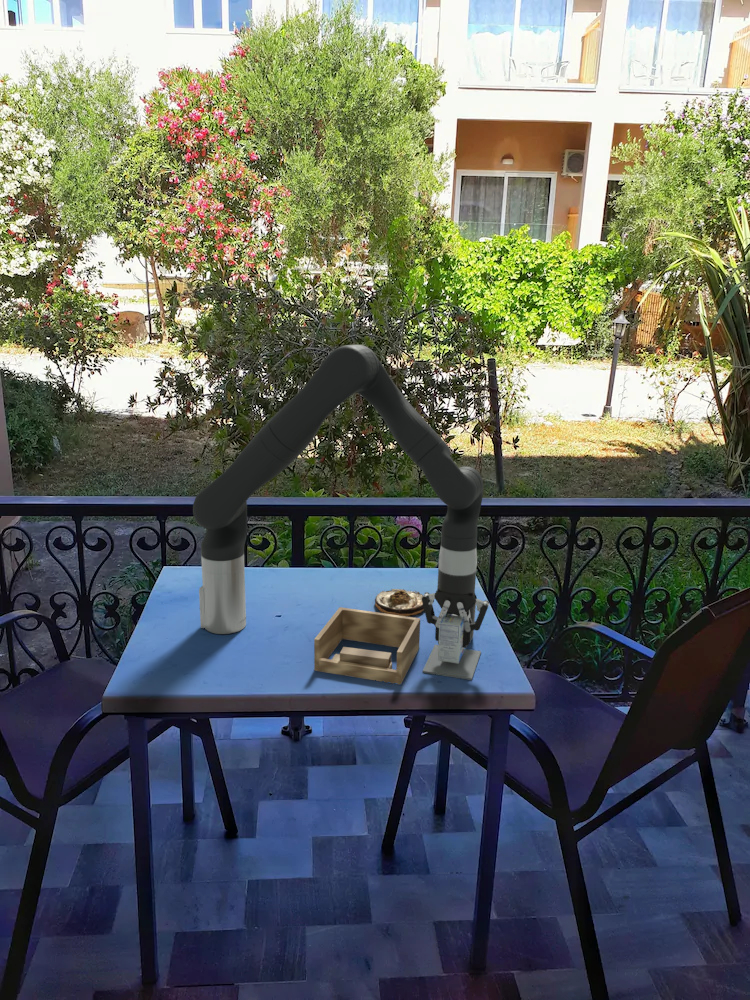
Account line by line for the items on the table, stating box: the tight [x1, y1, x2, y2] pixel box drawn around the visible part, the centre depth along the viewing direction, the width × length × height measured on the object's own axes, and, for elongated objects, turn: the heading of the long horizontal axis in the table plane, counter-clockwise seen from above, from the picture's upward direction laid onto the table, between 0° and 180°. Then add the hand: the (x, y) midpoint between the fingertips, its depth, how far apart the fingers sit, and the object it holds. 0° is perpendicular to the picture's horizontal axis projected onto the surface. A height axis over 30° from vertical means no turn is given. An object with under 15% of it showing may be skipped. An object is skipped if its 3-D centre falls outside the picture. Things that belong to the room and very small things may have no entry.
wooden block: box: [331, 646, 393, 669], centre depth 162 cm, size 12×3×4 cm, turn 74°
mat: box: [422, 644, 482, 681], centre depth 166 cm, size 10×12×1 cm
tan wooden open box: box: [313, 606, 421, 685], centre depth 166 cm, size 18×16×7 cm
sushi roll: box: [374, 588, 424, 617], centre depth 192 cm, size 15×15×4 cm
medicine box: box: [437, 614, 466, 664], centre depth 165 cm, size 8×4×9 cm, turn 162°
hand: (452, 643), depth 165 cm, fingers closed on medicine box, 4 cm apart
